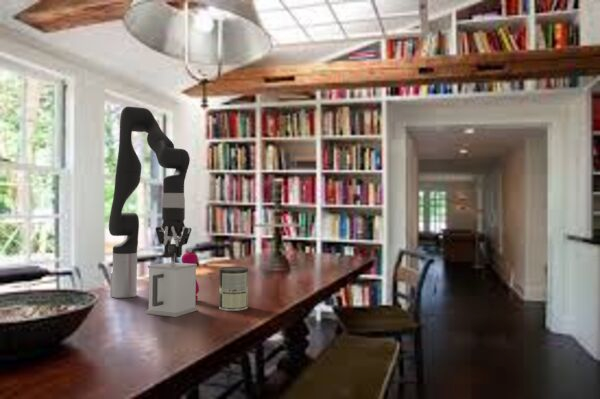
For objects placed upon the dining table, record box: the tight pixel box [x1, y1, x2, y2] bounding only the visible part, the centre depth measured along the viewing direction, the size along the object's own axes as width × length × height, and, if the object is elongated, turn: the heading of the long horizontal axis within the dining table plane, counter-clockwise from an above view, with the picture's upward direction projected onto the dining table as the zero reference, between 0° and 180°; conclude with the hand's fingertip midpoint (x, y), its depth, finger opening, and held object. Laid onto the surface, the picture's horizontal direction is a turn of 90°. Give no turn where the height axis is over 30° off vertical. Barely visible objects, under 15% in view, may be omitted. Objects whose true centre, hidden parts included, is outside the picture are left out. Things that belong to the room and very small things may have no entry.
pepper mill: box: [181, 248, 200, 303], centre depth 195 cm, size 7×7×20 cm
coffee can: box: [218, 266, 249, 312], centre depth 182 cm, size 10×10×14 cm
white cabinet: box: [146, 261, 198, 318], centre depth 173 cm, size 12×16×16 cm
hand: (173, 256), depth 175 cm, fingers closed on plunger, 3 cm apart
